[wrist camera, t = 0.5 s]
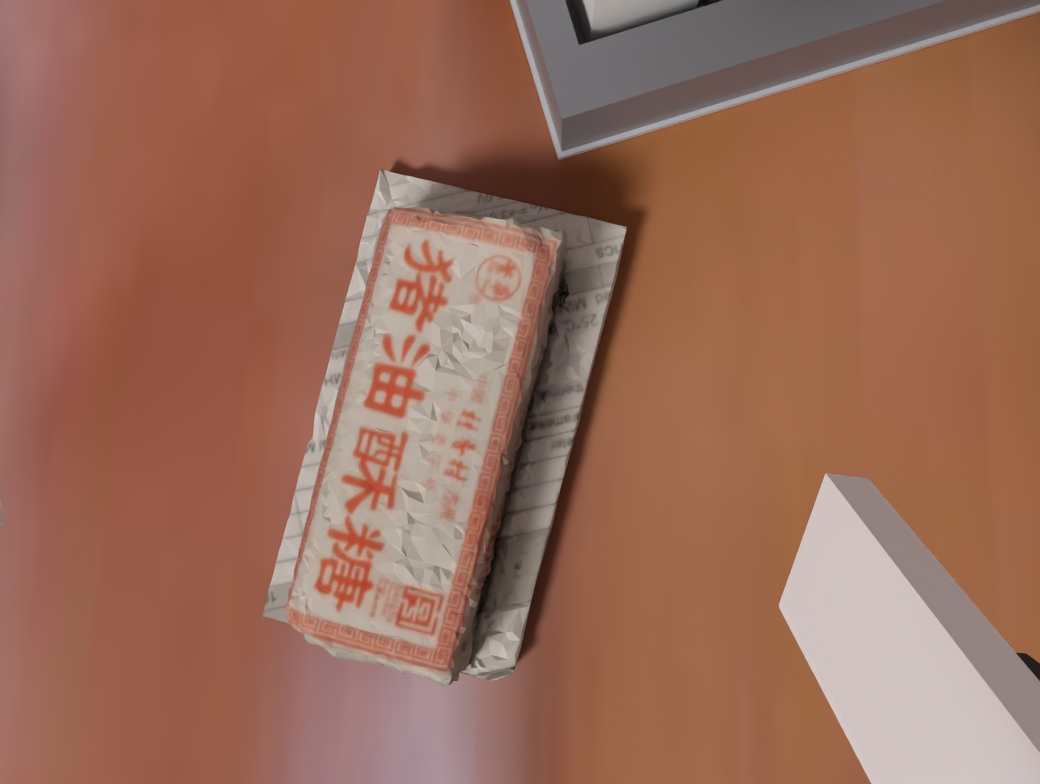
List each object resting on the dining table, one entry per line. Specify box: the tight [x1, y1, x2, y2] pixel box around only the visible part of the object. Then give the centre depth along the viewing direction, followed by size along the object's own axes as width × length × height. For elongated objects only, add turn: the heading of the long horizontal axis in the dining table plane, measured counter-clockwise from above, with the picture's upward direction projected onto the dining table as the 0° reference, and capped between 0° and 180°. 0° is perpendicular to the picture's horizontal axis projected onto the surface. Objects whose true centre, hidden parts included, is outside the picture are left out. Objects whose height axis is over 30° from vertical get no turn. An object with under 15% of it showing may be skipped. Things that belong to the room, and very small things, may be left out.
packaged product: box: [263, 169, 627, 686], centre depth 33 cm, size 18×5×10 cm
